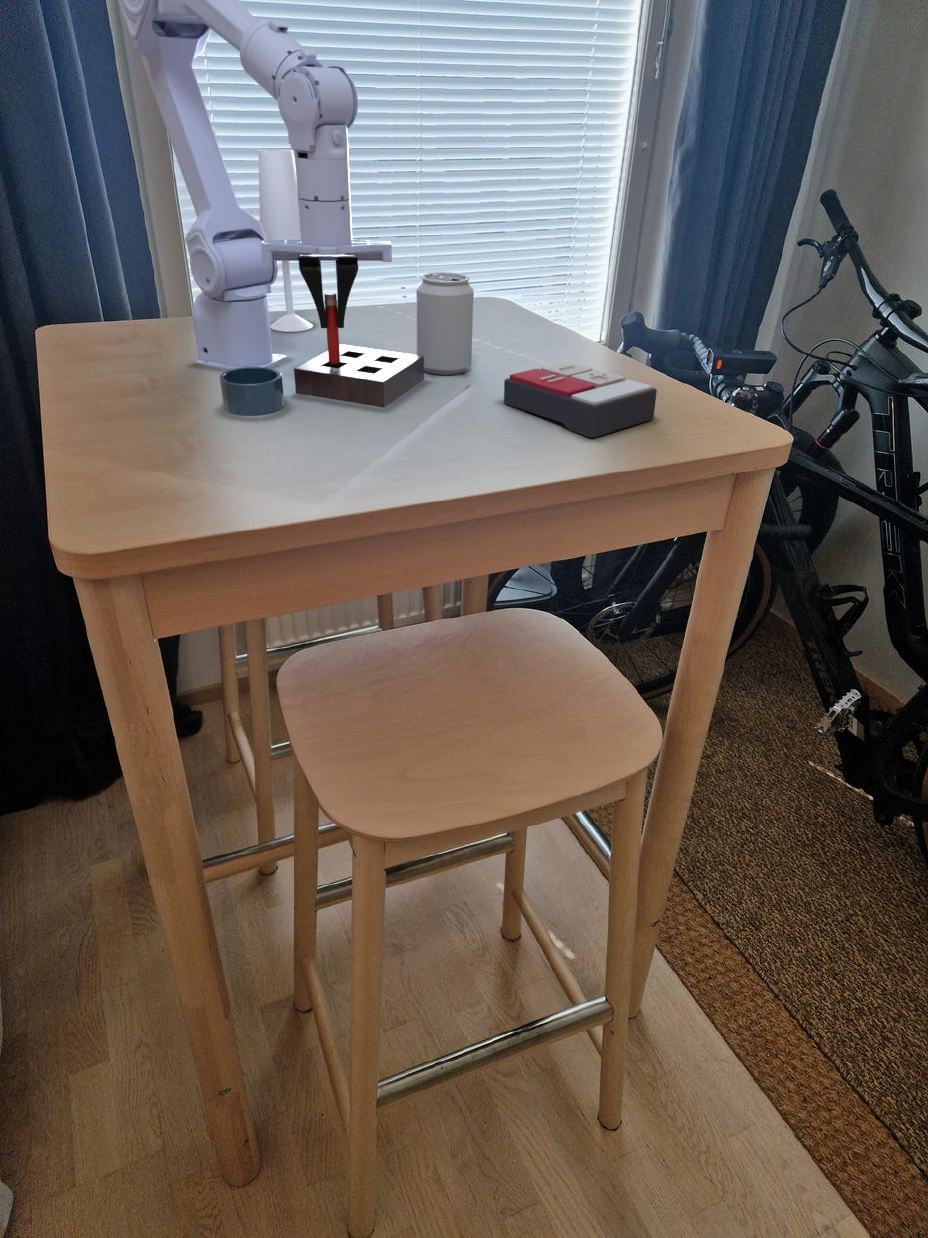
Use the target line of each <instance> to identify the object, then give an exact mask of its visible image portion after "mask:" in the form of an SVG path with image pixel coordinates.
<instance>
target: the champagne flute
mask: <svg viewBox="0 0 928 1238" xmlns="http://www.w3.org/2000/svg"><path fill="white" fill-rule="evenodd" d="M258 191H259V193H258V195H259V196H258V197H259V198H258V199H259V222H260V224H261V227H262V230H263V232H264V235H265V236H266V238H267V240H268V241H272V240H293V239H301V231H300V218H299V205H298V191H297V179H296V166H295V154H294V150H293V149H286V148H260V149H258ZM281 267H282V268H281V269H282V279H283V281H282V282H283V291H284V302H285V314H284V315H282V316H281V317H280V318H278V319H277V320H276V321H274V322H273V323H271V324H270V330H273V331H277V332H287V333H292V332H293V333H294V332H303V331H308V330H310V329H312V328H314V326H313V324H312V323H310V322H309V321H308V320H306V319H304V318H302V317H301V316H299V315H298V314H296V313H295V309H294V297H293V284H292V283H293V282H292V274H291V262H290V261H281Z"/></svg>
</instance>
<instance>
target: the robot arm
mask: <svg viewBox="0 0 928 1238" xmlns="http://www.w3.org/2000/svg"><path fill="white" fill-rule="evenodd" d="M117 2H118V5H119V7H120V11H121V13H122V16H123V19H124V21H125V24H126V28H127V31H128V34H129V36H130V39H131V41H132V44H133V47H134V49H135V50H136V51H137V52H138V53H140V58H141V61H142V64H143V67H144V70H145V73H146V75H147V79H148V82H149V84H150V87H151V90H152V93H153V96H154V98H155V101H156V104H157V107H158V110H159V112H160V116H161V118H162V121H163V123H164V124H163V125H164V127H165V129H166V132H167V135H168V138H169V141H170V143H171V146H172V149H173V152H174V155H175V157H176V161H177V163H178V166H179V169H180V172H181V175H182V178H183V181H184V183H185V186H186V189H187V191H188V194H189V197H190V200H191V203H192V206H193V209H194V211H195V214H196V217H197V218H196V219H195V221H194V222H193V224H192V225H191V227H190V228H189V230H188V232H187V234H186V236H185V238H184V241H185V245H186V247H187V250H188V255H189V265H190V272H191V275H192V277H193V280H194V282H195V283H196V286H197V287H198V288H199V289H200V290H201V292H200V293H199V294H198V295H197V296H196V298H195V300H194V301H193V307H192V321H193V328H194V334H195V340H196V347H197V355H198V360H196V361H195V363H196V364H199V365H206V366H212V367H218V368H224V369H225V368H226V369H229V370H232V369H236V368H243V367H265V368H268V367H270V366H271V365H274V364H276V363H277V362H279V361H282V360H284V359H286V358H287V356H286V355H285V354H279V353H273V352H274V350H273V341H272V331H271V328H270V325H271V323H270V313H269V303H268V295H269V294H271V293H272V287H271V286H272V285H273V284H274V283H275V281H276V279H277V277H278V271H279V261H280V262H282V261H292V262H294V261H295V262H298V269H299V272H300V275H301V276H302V279H303V280H304V282H305V284H306V286H307V288H308V290H309V293H310V295H311V297H312V300H313V302H314V305H315V309H316V312H317V315H318V319H319V324H320V329H327V324H326V313H325V298H324V291H323V276H322V275H323V274H322V262H335V276H336V291H337V292H336V299H337V319H338V329H344V328H345V317H346V312H347V306H348V302H349V298H350V295H351V291H352V288H353V284H354V282H355V280H356V278H357V275H358V272H359V262H361V261H362V262H382V263H392V262H393V247H392V242H391V241H390V240H369V239H354V238H353V228H352V204H351V184H350V181H351V180H350V179H351V178H350V160H349V139H348V137H349V136H348V130H349V129H350V128H351V127H352V126H353V125H354V123H355V121H356V118H357V114H358V109H359V98H358V91H357V88H356V85H355V83H354V80H353V79H352V78H351V76H350V74H349V73H348V72H347V71H346V69H345V67H343V66H341V65H333V64H332V65H328V66H326V65H324V64H322V62H320V60H318V59H317V58H318V55H317V53H316V52H315V51H313V50H312V49H311V48H305V46H303V45H302V44H301V43H299V42H298V41H297V40H296V39H295V38H294V37H293V36H292V35H290V34H289V32H288V31H289V26H288V24H286V23H285V22H284V21H283V20H281V19H274V18H271V19H267V18H264V19H260V20H258V19H257V18H256V17H255V16H254V15H253V14H252V13H251V12H250V11H249V10H248V9H247V8H246V7H245V6H244V5H243V4H242V3H241V2H240V1H239V0H117ZM212 31H213V32H214V33H216V35H218V36H219V37H220V38H222V39H223V40H224V41H225V42H227V43H228V44H230V45H231V46H232V47H233V48H234V49H235V50H237V51H238V52H239V61H240V63H241V66H242V69H243V70H244V71H245V73H246V74H247V75H248V76H249V77H250V78H252V80H254V81H255V83H256V84H258V85H259V86H260V87H261V88H262V89H263V90H264V91H265V92H266V93H267V94H268V95H270V97H272V98H273V99H274V100H275V101H276V102H277V107H278V110H279V113H280V117H281V118H282V119H281V120H282V121H283V122H284V125H285V127H286V130H287V137H288V144H290V148H291V150H293V153H294V162H295V168H296V179H297V191H298V205H299V218H300V231H301V239H293V240H272V241H268V240H267V238H266V236H265V235H264V232H263V230H262V227H261V224H260V220H258V219H256V218H255V217H254V216H252V215H251V214H250V213H248V212H247V211H245V210H244V209H243V208H241V207H240V205H239V203H238V199H237V196H236V193H235V191H234V188H233V185H232V181H231V178H230V176H229V172H228V169H227V167H226V164H225V161H224V158H223V154H222V152H221V149H220V146H219V143H218V140H217V138H216V137H217V136H216V134H215V131H214V128H213V126H212V122H211V119H210V115H209V113H208V110H207V107H206V105H205V101H204V98H203V95H202V92H201V90H200V87H199V83H198V81H197V77H196V74H195V72H194V69H193V63H194V59H196V58H197V57H198V56H200V55H201V54H202V53H203V52H204V49H205V47H206V45H207V42H208V40H209V38H210V35H211V33H212ZM358 261H359V262H358ZM267 294H268V295H267Z"/></svg>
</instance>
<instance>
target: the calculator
mask: <svg viewBox="0 0 928 1238" xmlns="http://www.w3.org/2000/svg"><path fill="white" fill-rule="evenodd" d="M503 382H504V385H503V403H504V404H505V405H508V406H511V407H514V408H517V409H520V410H523V411H525V412H529V413H531V414H535V415H538V416H540V417H544V418H547V419H550V420H553V421H556V422H559V423H562V425H564V426H565V428H566V429H567V430H568V431H570V432H572V433H576V434H578V435H581V436H585V437H588V438H590V439H591V438H592V439H593V438H597V437H600V436H603V435H604V436H605V435H606V434H610V433H613V432H617V431H619V430H623V429H626V428H628V427H632V426H635V425H638V424H641V423H644V422H647V421H651V420H653V419H654V418H655V409H656V401H657V393H658V389H656V387H655V388H654V387H653V385H650V384H647V383H643V382H639V381H635V380H632V379H626V377H625V376H622V375H619V374H615V373H612V372H608V371H603V370H601V369H600V370H599V369H593V368H592V367H588V366H584V365H581V364H578V363H577V364H576V363H573V362H569V361H563V362H559V363H554V364H549V365H546V366H542V367H540V368H532V369H528V370H524V371H520V372H516V373H511V374H510V375H509V377H508V378H505V379H504V381H503Z"/></svg>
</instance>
